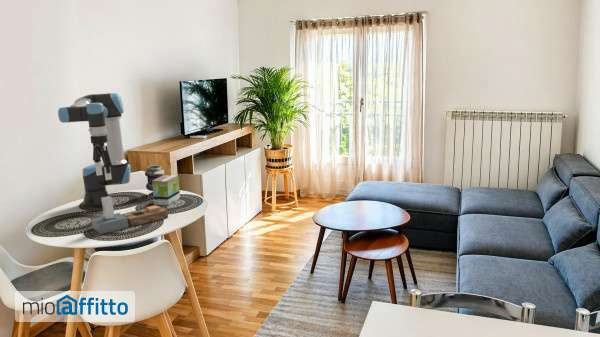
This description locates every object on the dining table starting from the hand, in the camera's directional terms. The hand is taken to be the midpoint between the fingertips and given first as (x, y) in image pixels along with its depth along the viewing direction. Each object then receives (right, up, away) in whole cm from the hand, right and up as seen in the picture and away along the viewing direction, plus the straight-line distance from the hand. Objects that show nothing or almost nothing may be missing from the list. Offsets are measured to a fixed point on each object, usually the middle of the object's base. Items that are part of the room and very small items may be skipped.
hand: (104, 177), depth 239 cm
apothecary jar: (+7, -12, +65) cm, 67 cm away
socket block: (+15, -23, +17) cm, 32 cm away
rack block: (+1, -26, +6) cm, 27 cm away
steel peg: (+1, -26, +6) cm, 26 cm away
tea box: (+18, -16, +49) cm, 54 cm away
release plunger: (+19, -21, +20) cm, 34 cm away
